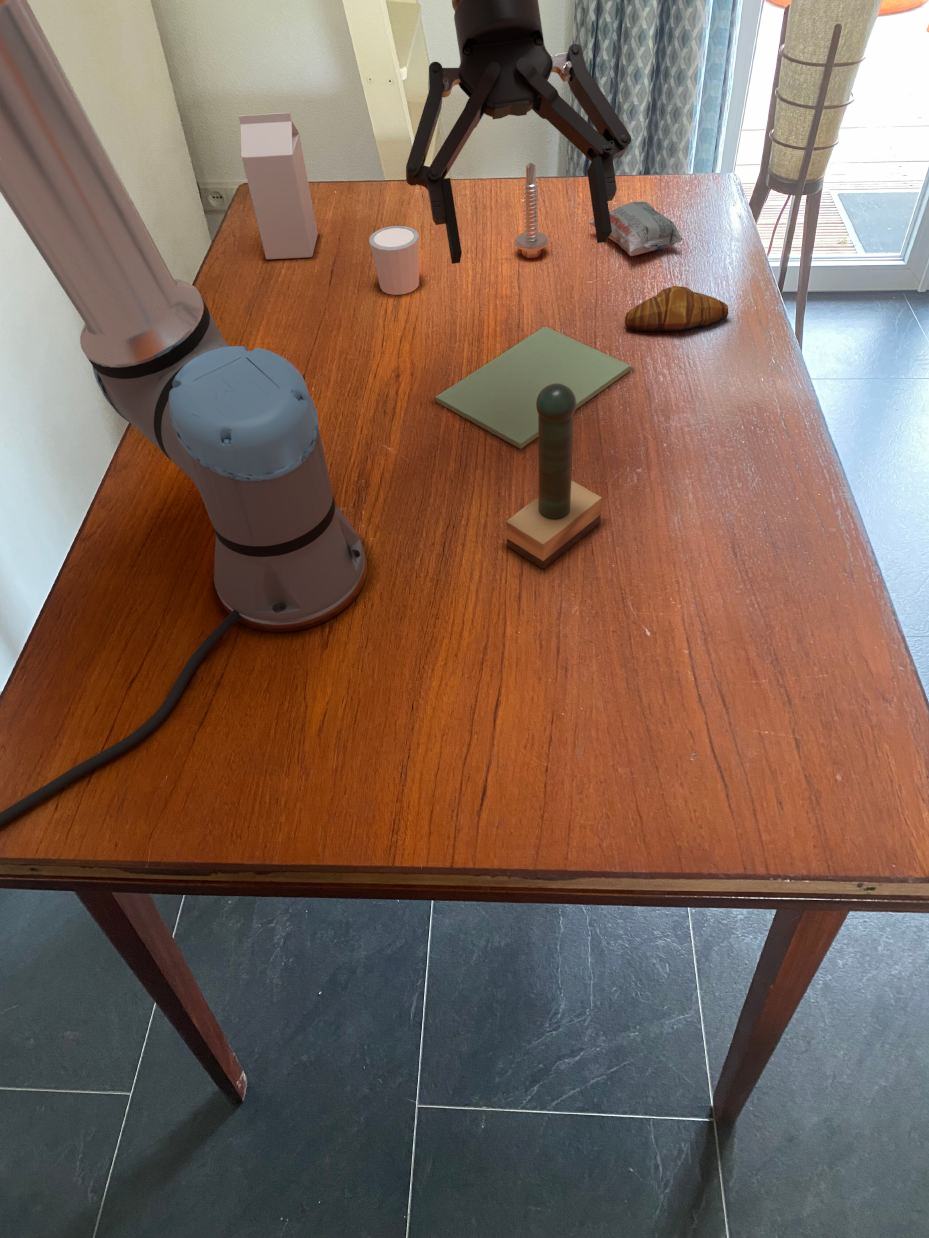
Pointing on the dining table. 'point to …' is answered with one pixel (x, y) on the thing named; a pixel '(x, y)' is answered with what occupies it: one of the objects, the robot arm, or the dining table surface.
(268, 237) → the milk carton
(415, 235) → the yogurt cup
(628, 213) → the packaged food
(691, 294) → the croissant
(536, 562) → the scrub brush
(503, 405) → the mat
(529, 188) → the screw
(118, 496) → the dining table surface
